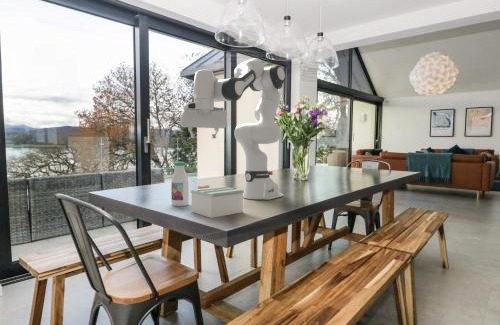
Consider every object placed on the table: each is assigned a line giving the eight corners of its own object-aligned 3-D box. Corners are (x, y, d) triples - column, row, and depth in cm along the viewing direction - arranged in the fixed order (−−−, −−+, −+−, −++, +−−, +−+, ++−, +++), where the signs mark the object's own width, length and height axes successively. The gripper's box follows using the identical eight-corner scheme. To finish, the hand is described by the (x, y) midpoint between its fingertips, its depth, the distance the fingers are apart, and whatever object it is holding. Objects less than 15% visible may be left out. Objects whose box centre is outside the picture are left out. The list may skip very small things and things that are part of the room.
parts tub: (222, 207, 147) (222, 189, 147) (242, 212, 137) (242, 193, 136) (191, 212, 137) (191, 193, 136) (211, 217, 126) (211, 197, 126)
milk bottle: (181, 202, 157) (181, 161, 156) (192, 204, 152) (191, 161, 151) (168, 205, 151) (167, 161, 150) (178, 207, 146) (178, 162, 145)
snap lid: (217, 188, 150) (217, 184, 150) (244, 193, 136) (244, 188, 136) (186, 191, 139) (186, 187, 139) (212, 197, 125) (212, 192, 125)
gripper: (224, 108, 150) (224, 138, 151) (179, 105, 143) (179, 137, 144) (228, 107, 145) (228, 138, 145) (181, 104, 137) (181, 137, 138)
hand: (203, 138), depth 145 cm, fingers open, 8 cm apart
